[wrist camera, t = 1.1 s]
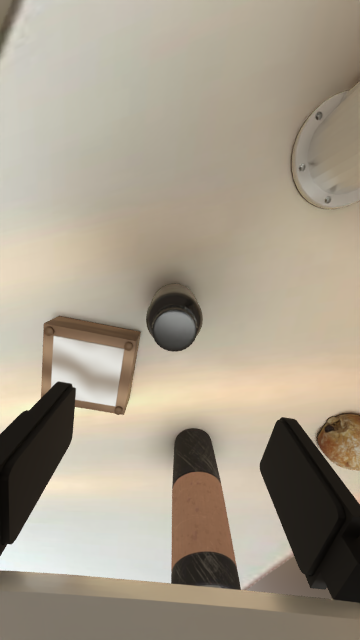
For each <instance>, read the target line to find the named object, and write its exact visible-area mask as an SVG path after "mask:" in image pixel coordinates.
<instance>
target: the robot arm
mask: <svg viewBox="0 0 360 640" xmlns="http://www.w3.org/2000/svg"><path fill="white" fill-rule="evenodd" d="M299 169H300V171H299ZM292 173H293V178H294V181H295V184H296V186H297V189H298V190H299V192H300V193H301V195H302V196H303V197H304V198H305V199H306V200H307V201H308V202H310V203H311V204H313V205H315V206H317V207H320V208H325V209H336V208H342V207H345V206H349V205H351V204H353V203H356V202H358V201H360V81H359V82H358V83H357V84H356V85H355V86H354V87H353V88H352V89H351V90H349V91H344V92H341V93H338V94H336V95H334V96H332V97H331V98H329V99H327V100H326V101H324V102H323V103H322V104H321V105H320V106H319V107H318V108H317V109H316V110H315V111H314V112H313V113H312V114H311V115H310V116H309V117H308V119H307V120H306V122H305V123H304V125H303V126H302V128H301V130H300V132H299V134H298V136H297V138H296V142H295V145H294V148H293V154H292ZM75 397H76V388H75V387H73V386H72V384H71V383H66V382H59V381H58V382H56V383H55V384H54V385H53V386H52V387H51V389H50V390H49V391H48V392H47V393H46V394H45V395H44V396H43V397H42V398H41V399H40V400H39V401H38V402H37V403H36V404H35V405H34V406H33V407H32V408H31V409H30V410H29V411H27V410H26V411H24V412H22V413H21V414H20V415H19V416H18V417H17V418H16V419H15V420H14V421H13V422H12V423H11V424H10V425H9V426H8V427H7V428H6V429H5V430H4V431H3V432H2V433H1V434H0V556H1V554H2V552H3V551H4V549H5V547H6V545H7V544H12V543H13V542H14V541H15V540H16V538H17V536H18V535H19V533H20V531H21V529H22V528H23V526H24V524H25V522H26V521H27V519H28V517H29V515H30V514H31V512H32V510H33V508H34V507H35V505H36V503H37V501H38V500H39V498H40V496H41V494H42V493H43V491H44V489H45V487H46V485H47V484H48V482H49V480H50V478H51V477H52V475H53V473H54V471H55V470H56V468H57V466H58V464H59V463H60V461H61V459H62V457H63V456H64V454H65V452H66V450H67V449H68V447H69V445H70V443H71V440H72V434H73V421H74V409H75ZM260 471H261V474H262V477H263V479H264V482H265V484H266V487H267V489H268V492H269V494H270V497H271V499H272V502H273V504H274V507H275V509H276V511H277V514H278V516H279V519H280V521H281V524H282V526H283V529H284V531H285V534H286V536H287V539H288V541H289V544H290V546H291V549H292V551H293V554H294V556H295V559H296V561H297V564H298V566H299V568H300V570H301V572H302V573H303V574H305V575H306V578H307V581H308V583H309V585H310V588H317V589H326V588H328V590H329V592H330V594H331V596H332V598H331V599H325V598H314V597H305V596H295V595H285V594H275V593H265V592H255V591H245V590H234V589H224V588H213V587H203V586H192V585H181V584H170V583H159V582H148V581H137V580H125V579H113V578H102V577H90V576H79V575H67V574H51V573H35V572H19V571H0V640H360V504H359V503H358V502H357V500H356V499H355V498H354V496H353V495H352V494H351V492H350V491H349V490H348V488H347V487H346V486H345V484H344V483H343V482H342V480H341V479H340V478H339V476H338V475H337V474H336V472H335V471H334V470H333V468H332V467H331V466H330V464H329V463H328V462H327V460H326V459H325V458H324V456H323V455H322V454H321V452H320V451H319V450H318V448H317V447H316V446H315V444H314V443H313V442H312V440H311V439H310V438H309V437H308V435H307V434H306V433H305V431H304V430H303V429H302V427H301V426H300V425H299V423H298V422H297V421H296V420H295V419H290V418H284V417H282V418H281V419H280V420H278V421H277V422H276V424H275V426H274V429H273V432H272V434H271V437H270V439H269V442H268V444H267V447H266V449H265V452H264V454H263V457H262V460H261V462H260Z"/></svg>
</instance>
